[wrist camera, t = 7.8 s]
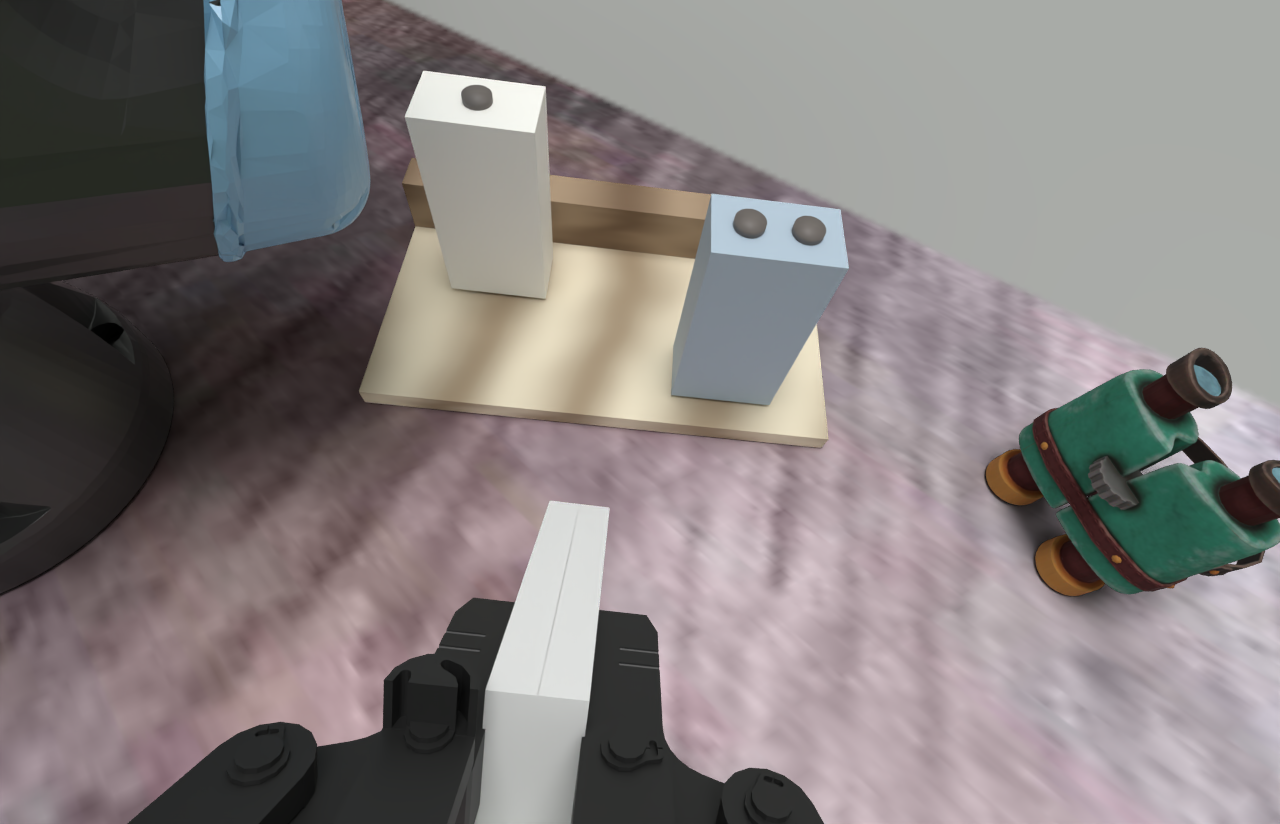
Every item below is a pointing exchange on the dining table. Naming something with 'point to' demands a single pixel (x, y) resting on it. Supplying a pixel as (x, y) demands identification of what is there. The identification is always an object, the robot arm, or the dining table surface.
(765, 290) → the tile two
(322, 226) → the robot arm
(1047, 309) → the dining table surface
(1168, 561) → the binoculars
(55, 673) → the dining table surface
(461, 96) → the tile one
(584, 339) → the holder
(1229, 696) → the dining table surface
